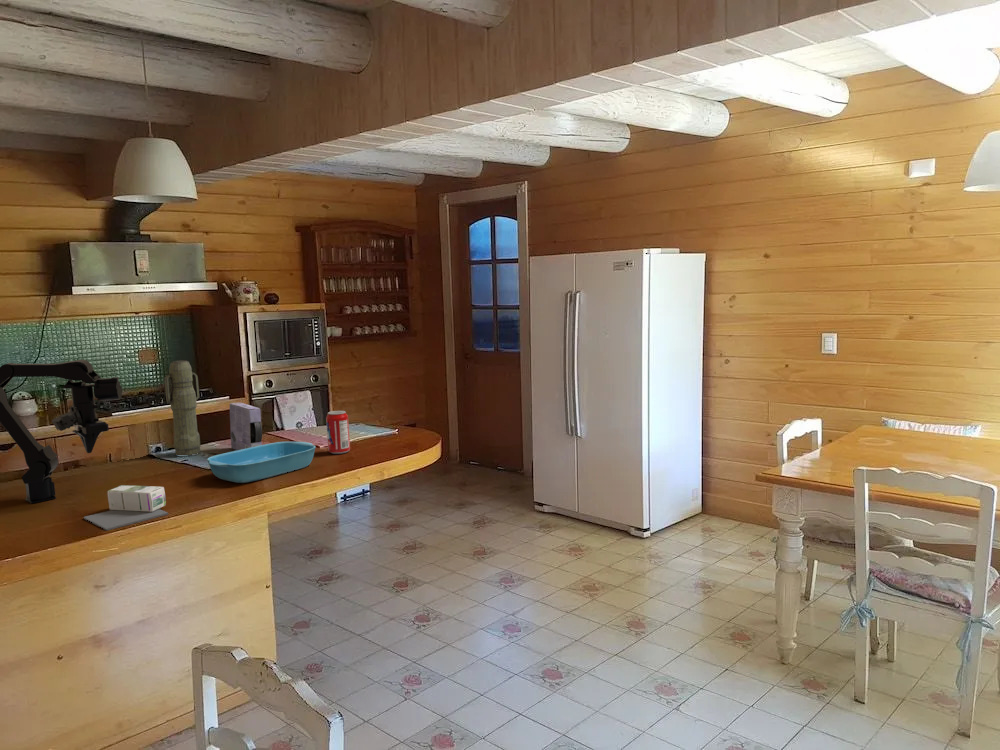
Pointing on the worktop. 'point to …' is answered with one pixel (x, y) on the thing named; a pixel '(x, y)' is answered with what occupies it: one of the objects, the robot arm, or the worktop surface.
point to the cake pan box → (245, 426)
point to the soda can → (338, 432)
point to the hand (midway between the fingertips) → (89, 452)
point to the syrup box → (136, 498)
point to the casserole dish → (262, 461)
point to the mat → (122, 518)
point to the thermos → (183, 406)
